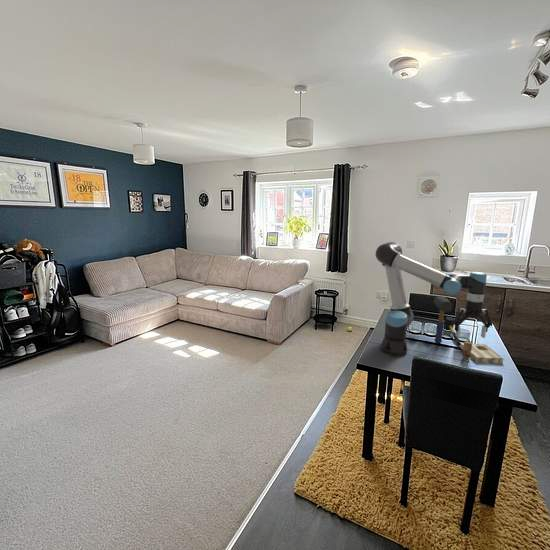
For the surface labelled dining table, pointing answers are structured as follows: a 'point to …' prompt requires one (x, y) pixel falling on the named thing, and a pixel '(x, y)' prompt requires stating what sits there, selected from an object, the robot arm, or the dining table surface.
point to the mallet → (451, 328)
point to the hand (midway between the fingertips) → (469, 336)
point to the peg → (467, 350)
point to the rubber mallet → (441, 315)
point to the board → (484, 354)
